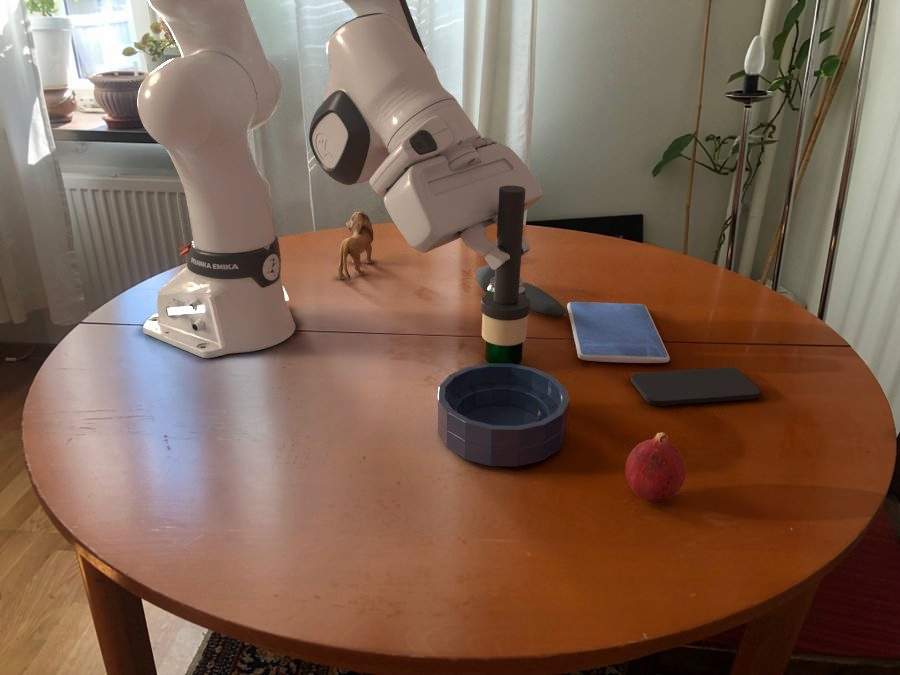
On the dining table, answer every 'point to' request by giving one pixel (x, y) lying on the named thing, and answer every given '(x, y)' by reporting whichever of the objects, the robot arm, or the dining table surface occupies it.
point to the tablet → (616, 333)
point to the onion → (655, 469)
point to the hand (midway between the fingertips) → (512, 259)
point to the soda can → (500, 352)
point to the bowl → (502, 414)
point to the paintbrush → (536, 296)
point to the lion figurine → (356, 243)
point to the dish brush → (507, 276)
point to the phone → (694, 386)
